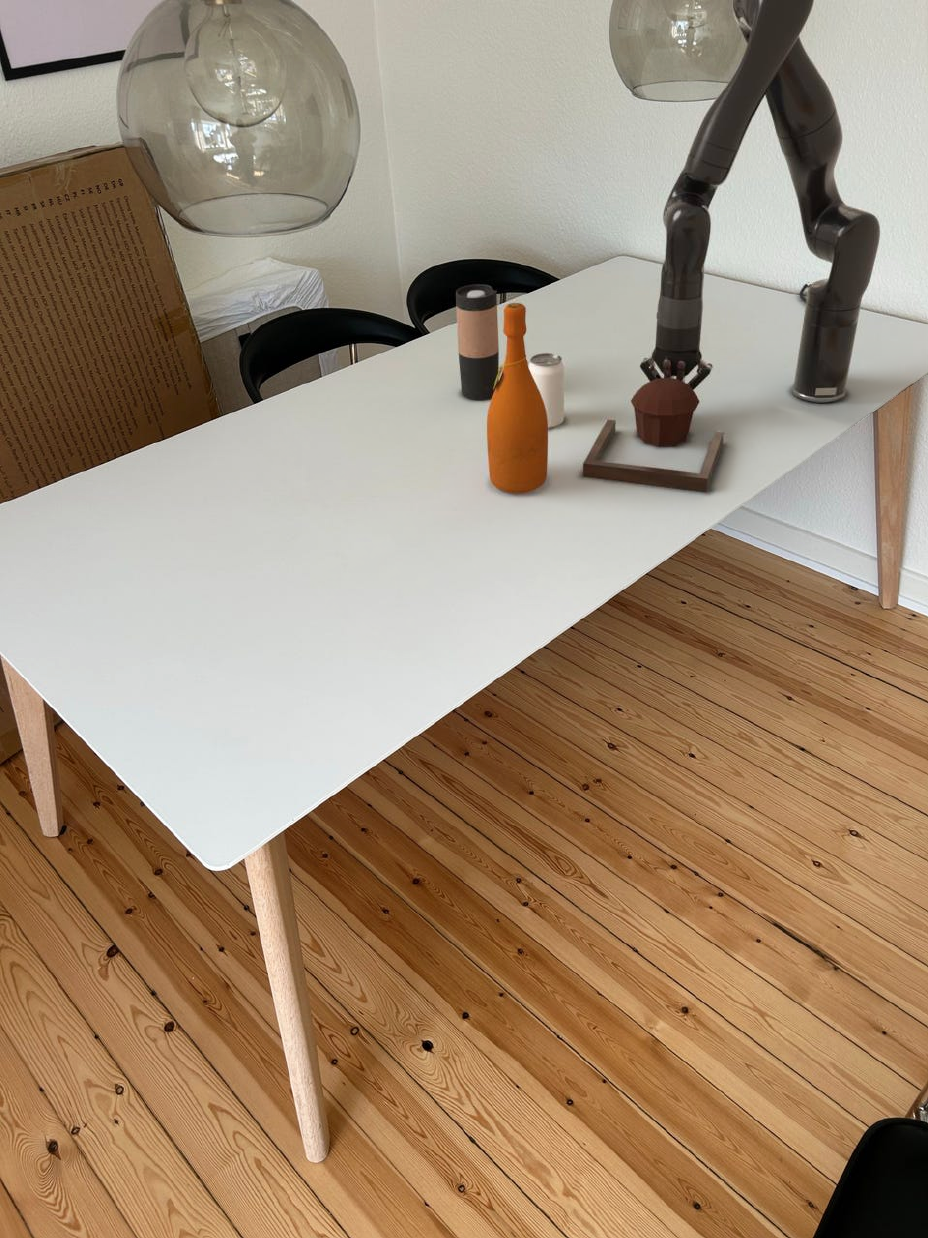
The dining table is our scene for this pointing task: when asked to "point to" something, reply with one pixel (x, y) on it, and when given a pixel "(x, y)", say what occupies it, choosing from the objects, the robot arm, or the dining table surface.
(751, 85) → the robot arm
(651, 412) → the muffin
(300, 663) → the dining table surface
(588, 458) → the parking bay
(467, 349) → the travel mug
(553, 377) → the can
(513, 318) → the wine bottle
